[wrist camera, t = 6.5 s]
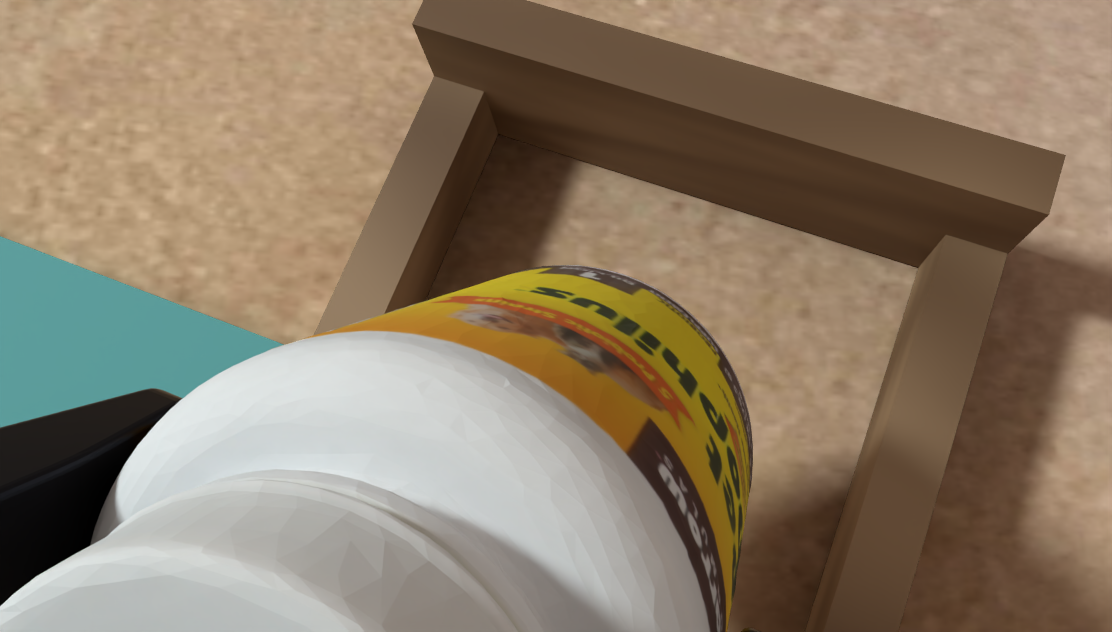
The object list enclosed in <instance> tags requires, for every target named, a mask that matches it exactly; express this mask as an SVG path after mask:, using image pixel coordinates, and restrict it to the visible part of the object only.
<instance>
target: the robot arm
mask: <svg viewBox="0 0 1112 632" xmlns="http://www.w3.org/2000/svg"><path fill="white" fill-rule="evenodd" d="M181 399H183V398H181V397H178V396H176V395H173V394H171V393H169V392H166V391H164V390H161V389H156V388H150V389H144V390H141V391H137V392H133V393H129V394H125V395H122V396H118V397H114V398H110V399H106V400H103V401H99V402H95V403H91V404H87V405H84V406H80V407H76V408H72V409H68V410H65V411H61V412H57V413H53V414H49V415H46V416H42V417H38V418H34V419H30V420H27V421H23V422H19V423H15V424H11V425H8V426H4V427H0V606H1V605H2V604H3V603H4V602H5V601H6V600H8V599H9V598H10V597H11V596H12V595H13V594H14V593H15V592H17V591H18V590H19V589H21V588H22V587H23V586H24V585H26V584H27V583H28V582H30V581H31V580H32V579H34V578H35V577H36V576H38V575H39V574H41V573H43V572H45V571H46V570H48V569H50V568H52V567H53V566H55V565H57V564H59V563H60V562H62V561H64V560H65V559H67V558H69V557H71V556H72V555H74V554H76V553H78V552H80V551H81V550H83V549H85V548H87V547H89V546H90V544H91V540H92V536H93V532H94V528H95V526H96V523H97V520H98V517H99V515H100V512H101V509H102V507H103V505H104V503H105V500H106V498H107V496H108V494H109V492H110V490H111V487H112V486H113V484H114V482H115V480H116V478H117V476H118V475H119V473H120V471H121V469H122V468H123V466H124V464H125V463H126V462H127V460H128V459H129V457H130V456H131V454H132V453H133V451H134V450H135V448H136V447H137V445H138V444H139V443H140V442H141V441H142V440H143V438H144V437H145V436H146V435H147V434H148V433H149V431H150V430H151V429H152V428H153V427H154V426H155V424H156V423H157V422H158V421H159V420H160V419H161V418H162V417H163V416H164V415H165V414H166V413H167V412H168V411H169V410H170V409H171V408H172V407H173V406H175V405H176V404H177V403H178V402H179V401H180V400H181ZM741 632H760V631H758V630H756V629H753V628H745V629H744V630H742V631H741Z"/></svg>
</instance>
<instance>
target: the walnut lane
mask: <svg viewBox="0 0 1112 632" xmlns="http://www.w3.org/2000/svg"><path fill="white" fill-rule="evenodd" d="M412 25H413V27H414V29H415V32H416V34H417V36H418V39H419V41H420V43H421V46H422V48H423V51H424V53H425V55H426V58H427V60H428V62H429V65H430V67H431V69H432V72H433V74H434V78H433V80H432V82H431V84H430V86H429V89H428V91H427V93H426V95H425V97H424V99H423V101H422V104H421V106H420V108H419V110H418V112H417V114H416V116H415V119H414V121H413V123H412V125H411V127H410V129H409V132H408V134H407V136H406V138H405V140H404V142H403V144H402V147H401V149H400V151H399V153H398V155H397V157H396V159H395V162H394V164H393V166H392V168H391V170H390V172H389V174H388V177H387V179H386V181H385V183H384V185H383V187H382V190H381V192H380V194H379V196H378V198H377V200H376V202H375V205H374V207H373V209H372V211H371V213H370V215H369V217H368V220H367V222H366V224H365V226H364V228H363V230H362V232H361V235H360V237H359V239H358V241H357V243H356V245H355V247H354V250H353V252H352V254H351V256H350V258H349V260H348V263H347V265H346V267H345V269H344V271H343V273H342V275H341V278H340V280H339V282H338V284H337V286H336V288H335V290H334V293H333V295H332V297H331V299H330V301H329V303H328V305H327V308H326V310H325V312H324V314H323V316H322V318H321V321H320V323H319V325H318V327H317V329H316V331H315V333H314V335H317V334H320V333H324V332H327V331H330V330H334V329H337V328H340V327H344V326H347V325H350V324H353V323H356V322H360V321H363V320H366V319H369V318H373V317H376V316H379V315H382V314H385V313H388V312H391V311H394V310H398V309H401V308H404V307H407V306H410V305H414V304H417V303H420V302H424V301H425V299H426V297H427V295H428V293H429V290H430V288H431V286H432V284H433V281H434V279H435V277H436V274H437V272H438V270H439V268H440V265H441V263H442V261H443V259H444V256H445V254H446V252H447V249H448V247H449V245H450V243H451V240H452V238H453V236H454V234H455V231H456V229H457V227H458V224H459V222H460V220H461V218H462V215H463V213H464V211H465V209H466V206H467V204H468V202H469V200H470V197H471V195H472V193H473V190H474V188H475V186H476V184H477V181H478V179H479V177H480V175H481V172H482V170H483V168H484V165H485V163H486V161H487V159H488V156H489V154H490V152H491V150H492V147H493V145H494V143H495V140H496V138H497V136H498V134H500V135H503V136H506V137H509V138H513V139H516V140H519V141H522V142H525V143H528V144H531V145H535V146H538V147H541V148H544V149H547V150H550V151H553V152H557V153H560V154H563V155H566V156H569V157H572V158H576V159H579V160H582V161H585V162H588V163H591V164H594V165H598V166H601V167H604V168H607V169H610V170H613V171H616V172H620V173H623V174H626V175H629V176H632V177H635V178H638V179H642V180H645V181H648V182H651V183H654V184H657V185H660V186H664V187H667V188H670V189H673V190H676V191H679V192H682V193H686V194H689V195H692V196H695V197H698V198H701V199H704V200H708V201H711V202H714V203H717V204H720V205H723V206H726V207H730V208H733V209H736V210H739V211H742V212H745V213H749V214H752V215H755V216H758V217H761V218H764V219H767V220H771V221H774V222H777V223H780V224H783V225H786V226H789V227H793V228H796V229H799V230H802V231H805V232H808V233H811V234H815V235H818V236H821V237H824V238H827V239H830V240H833V241H837V242H840V243H843V244H846V245H849V246H852V247H855V248H859V249H862V250H865V251H868V252H871V253H874V254H877V255H881V256H884V257H887V258H890V259H893V260H896V261H900V262H903V263H906V264H909V265H912V266H915V267H918V271H917V274H916V277H915V281H914V284H913V287H912V290H911V293H910V297H909V300H908V303H907V306H906V309H905V313H904V316H903V319H902V322H901V325H900V329H899V332H898V335H897V338H896V341H895V345H894V348H893V351H892V354H891V357H890V361H889V364H888V367H887V370H886V373H885V377H884V380H883V383H882V386H881V389H880V393H879V396H878V399H877V402H876V405H875V409H874V412H873V415H872V418H871V421H870V425H869V428H868V431H867V434H866V438H865V441H864V444H863V447H862V450H861V454H860V457H859V460H858V463H857V466H856V470H855V473H854V476H853V479H852V482H851V486H850V489H849V492H848V495H847V498H846V502H845V505H844V508H843V511H842V514H841V518H840V521H839V524H838V527H837V530H836V534H835V537H834V540H833V543H832V546H831V550H830V553H829V556H828V559H827V562H826V566H825V569H824V572H823V575H822V578H821V582H820V585H819V588H818V591H817V594H816V598H815V601H814V604H813V607H812V610H811V614H810V617H809V620H808V623H807V626H806V630H805V632H898V631H899V627H900V624H901V620H902V617H903V614H904V610H905V607H906V603H907V600H908V596H909V593H910V589H911V586H912V582H913V579H914V576H915V572H916V569H917V565H918V562H919V558H920V555H921V551H922V548H923V544H924V541H925V538H926V534H927V531H928V527H929V524H930V520H931V517H932V513H933V510H934V506H935V503H936V500H937V496H938V493H939V489H940V486H941V482H942V479H943V475H944V472H945V468H946V465H947V462H948V458H949V455H950V451H951V448H952V444H953V441H954V437H955V434H956V430H957V427H958V424H959V420H960V417H961V413H962V410H963V406H964V403H965V399H966V396H967V392H968V389H969V386H970V382H971V379H972V375H973V372H974V368H975V365H976V361H977V358H978V355H979V351H980V348H981V344H982V341H983V337H984V334H985V330H986V327H987V323H988V320H989V317H990V313H991V310H992V306H993V303H994V299H995V296H996V292H997V289H998V285H999V282H1000V279H1001V275H1002V272H1003V268H1004V265H1005V261H1006V258H1007V254H1008V253H1009V252H1010V251H1011V250H1012V249H1013V248H1014V247H1015V246H1016V245H1017V244H1018V243H1019V242H1021V241H1022V240H1023V239H1024V238H1025V237H1026V236H1027V235H1028V234H1029V233H1030V232H1031V231H1032V230H1033V229H1034V228H1035V227H1036V226H1037V225H1039V224H1040V223H1041V222H1042V221H1043V220H1044V219H1045V218H1046V217H1047V216H1048V215H1049V213H1050V209H1051V206H1052V202H1053V198H1054V195H1055V191H1056V188H1057V184H1058V181H1059V177H1060V174H1061V170H1062V166H1063V163H1064V159H1065V156H1066V155H1063V154H1060V153H1056V152H1053V151H1049V150H1046V149H1042V148H1039V147H1035V146H1032V145H1028V144H1025V143H1021V142H1018V141H1014V140H1011V139H1007V138H1004V137H1000V136H997V135H993V134H990V133H986V132H983V131H979V130H976V129H972V128H969V127H966V126H962V125H959V124H955V123H952V122H948V121H945V120H941V119H938V118H934V117H931V116H927V115H924V114H920V113H917V112H913V111H910V110H906V109H903V108H899V107H896V106H892V105H889V104H885V103H882V102H878V101H875V100H871V99H868V98H864V97H861V96H858V95H854V94H851V93H847V92H844V91H840V90H837V89H833V88H830V87H826V86H823V85H819V84H816V83H812V82H809V81H805V80H802V79H798V78H795V77H791V76H788V75H784V74H781V73H777V72H774V71H770V70H767V69H763V68H760V67H756V66H753V65H749V64H746V63H743V62H739V61H736V60H732V59H729V58H725V57H722V56H718V55H715V54H711V53H708V52H704V51H701V50H697V49H694V48H690V47H687V46H683V45H680V44H676V43H673V42H669V41H666V40H662V39H659V38H655V37H652V36H648V35H645V34H641V33H638V32H634V31H631V30H628V29H624V28H621V27H617V26H614V25H610V24H607V23H603V22H600V21H596V20H593V19H589V18H586V17H582V16H579V15H575V14H572V13H568V12H565V11H561V10H558V9H554V8H551V7H547V6H544V5H540V4H537V3H533V2H530V1H526V0H423V3H422V5H421V7H420V9H419V11H418V13H417V15H416V17H415V19H414V21H413V23H412Z"/></svg>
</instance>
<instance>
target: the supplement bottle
mask: <svg viewBox="0 0 1112 632" xmlns="http://www.w3.org/2000/svg"><path fill="white" fill-rule="evenodd" d="M752 466H753V444H752V432H751V423H750V417H749V412H748V408H747V404H746V401H745V397H744V394H743V391H742V388H741V386H740V383H739V381H738V379H737V376H736V374H735V372H734V370H733V368H732V366H731V364H730V362H729V361H728V359H727V357H726V355H725V354H724V352H723V351H722V349H721V347H720V346H719V344H718V343H717V342H716V341H715V339H714V338H713V337H712V335H711V334H710V333H709V332H708V330H707V329H706V328H705V327H704V326H703V325H702V324H701V323H700V322H699V321H698V320H697V319H696V318H695V317H694V316H693V315H692V314H691V313H690V312H688V311H687V310H686V309H685V308H683V307H682V306H681V305H680V304H678V303H677V302H676V301H674V300H673V299H672V298H670V297H669V296H667V295H666V294H664V293H663V292H661V291H659V290H658V289H656V288H654V287H652V286H650V285H648V284H646V283H644V282H642V281H640V280H637V279H634V278H632V277H629V276H626V275H624V274H620V273H617V272H613V271H609V270H604V269H600V268H594V267H587V266H579V265H558V266H542V267H537V268H532V269H527V270H522V271H518V272H515V273H512V274H509V275H506V276H503V277H500V278H497V279H493V280H490V281H487V282H484V283H481V284H478V285H475V286H472V287H468V288H465V289H462V290H459V291H456V292H453V293H449V294H445V295H442V296H439V297H436V298H433V299H430V300H427V301H424V302H420V303H417V304H414V305H410V306H407V307H404V308H401V309H398V310H394V311H391V312H388V313H385V314H382V315H379V316H376V317H373V318H369V319H366V320H363V321H360V322H356V323H353V324H350V325H347V326H344V327H340V328H337V329H334V330H330V331H327V332H324V333H320V334H317V335H314V336H310V337H307V338H304V339H301V340H298V341H295V342H292V343H288V344H285V345H282V346H279V347H276V348H273V349H270V350H268V351H266V352H264V353H262V354H259V355H256V356H254V357H252V358H250V359H247V360H245V361H243V362H241V363H238V364H236V365H234V366H232V367H230V368H228V369H226V370H224V371H223V372H221V373H219V374H217V375H215V376H214V377H212V378H211V379H209V380H207V381H206V382H204V383H203V384H201V385H200V386H198V387H197V388H195V389H194V390H193V391H192V392H190V393H189V394H188V395H187V396H185V397H184V398H183V399H181V400H180V401H179V402H178V403H177V404H176V405H175V406H173V407H172V408H171V409H170V410H169V411H168V412H167V413H166V414H165V415H164V416H163V417H162V418H161V419H160V420H159V421H158V422H157V423H156V424H155V426H154V427H153V428H152V429H151V430H150V431H149V433H148V434H147V435H146V436H145V437H144V438H143V440H142V441H141V442H140V443H139V444H138V445H137V447H136V448H135V450H134V451H133V453H132V454H131V456H130V457H129V459H128V460H127V462H126V463H125V464H124V466H123V468H122V469H121V471H120V473H119V475H118V476H117V478H116V480H115V482H114V484H113V486H112V487H111V490H110V492H109V494H108V496H107V498H106V500H105V503H104V505H103V507H102V509H101V512H100V515H99V517H98V520H97V523H96V526H95V528H94V532H93V536H92V540H91V544H90V546H89V547H87V548H85V549H83V550H81V551H80V552H78V553H76V554H74V555H72V556H71V557H69V558H67V559H65V560H64V561H62V562H60V563H59V564H57V565H55V566H53V567H52V568H50V569H48V570H46V571H45V572H43V573H41V574H39V575H38V576H36V577H35V578H34V579H32V580H31V581H30V582H28V583H27V584H26V585H24V586H23V587H22V588H21V589H19V590H18V591H17V592H15V593H14V594H13V595H12V596H11V597H10V598H9V599H8V600H6V601H5V602H4V603H3V604H2V605H1V606H0V632H727V628H728V622H729V616H730V610H731V606H732V602H733V597H734V592H735V585H736V573H737V568H738V563H739V558H740V551H741V542H742V536H743V530H744V523H745V517H746V510H747V503H748V497H749V492H750V487H751V480H752Z"/></svg>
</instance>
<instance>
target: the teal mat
mask: <svg viewBox="0 0 1112 632" xmlns="http://www.w3.org/2000/svg"><path fill="white" fill-rule="evenodd" d="M282 345H283V344H281V343H278V342H276V341H273V340H270V339H268V338H265V337H262V336H260V335H257V334H255V333H252V332H249V331H247V330H244V329H241V328H239V327H236V326H234V325H231V324H228V323H226V322H223V321H221V320H218V319H215V318H213V317H210V316H207V315H205V314H202V313H200V312H197V311H194V310H192V309H189V308H186V307H184V306H181V305H179V304H176V303H173V302H171V301H168V300H166V299H163V298H160V297H158V296H155V295H152V294H150V293H147V292H145V291H142V290H139V289H137V288H134V287H131V286H129V285H126V284H124V283H121V282H118V281H116V280H113V279H110V278H108V277H105V276H103V275H100V274H97V273H95V272H92V271H90V270H87V269H84V268H82V267H79V266H76V265H74V264H71V263H69V262H66V261H63V260H61V259H58V258H55V257H53V256H50V255H48V254H45V253H42V252H40V251H37V250H35V249H32V248H29V247H27V246H24V245H21V244H19V243H16V242H14V241H11V240H8V239H6V238H3V237H0V427H4V426H8V425H11V424H15V423H19V422H23V421H27V420H30V419H34V418H38V417H42V416H46V415H49V414H53V413H57V412H61V411H65V410H68V409H72V408H76V407H80V406H84V405H87V404H91V403H95V402H99V401H103V400H106V399H110V398H114V397H118V396H122V395H125V394H129V393H133V392H137V391H141V390H144V389H150V388H156V389H161V390H164V391H166V392H169V393H171V394H173V395H176V396H178V397H181V398H184V397H185V396H187V395H188V394H189V393H190V392H192V391H193V390H194V389H195V388H197V387H198V386H200V385H201V384H203V383H204V382H206V381H207V380H209V379H211V378H212V377H214V376H215V375H217V374H219V373H221V372H223V371H224V370H226V369H228V368H230V367H232V366H234V365H236V364H238V363H241V362H243V361H245V360H247V359H250V358H252V357H254V356H256V355H259V354H262V353H264V352H266V351H268V350H270V349H273V348H276V347H279V346H282Z"/></svg>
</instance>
